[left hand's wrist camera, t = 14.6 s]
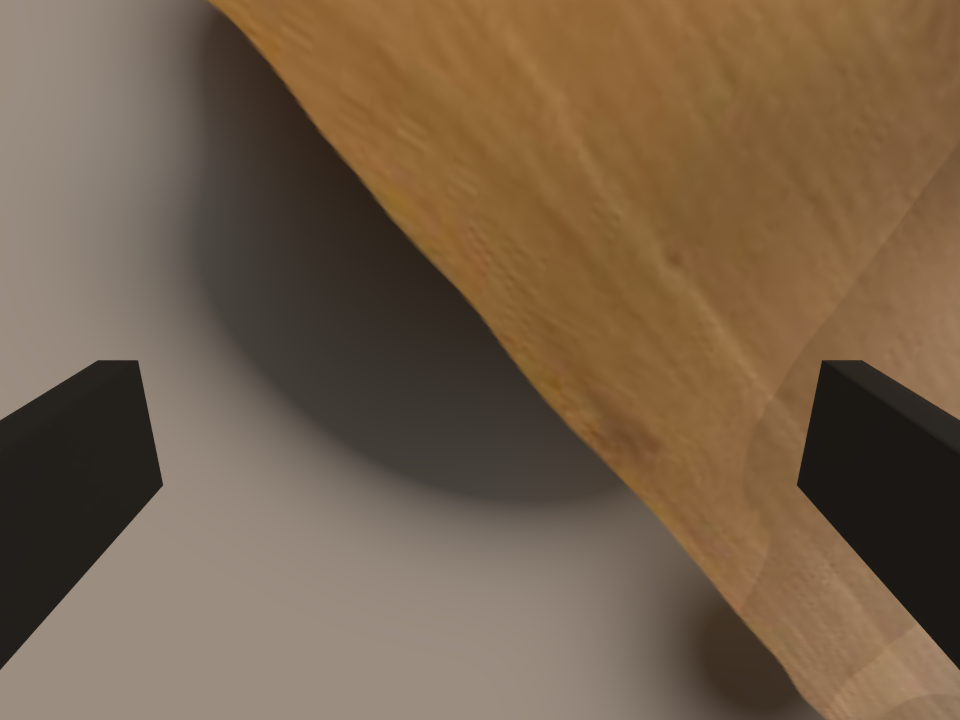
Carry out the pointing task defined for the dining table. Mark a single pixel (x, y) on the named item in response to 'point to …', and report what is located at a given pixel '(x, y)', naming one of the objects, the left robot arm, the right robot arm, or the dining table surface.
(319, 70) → the dining table surface
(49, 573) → the left robot arm
